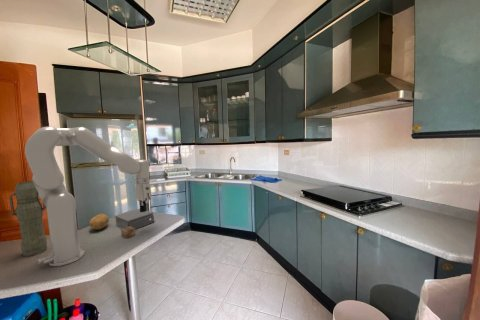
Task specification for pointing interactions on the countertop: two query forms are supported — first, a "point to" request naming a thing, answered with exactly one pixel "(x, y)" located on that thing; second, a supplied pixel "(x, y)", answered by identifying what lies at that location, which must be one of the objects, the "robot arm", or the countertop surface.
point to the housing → (130, 217)
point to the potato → (99, 221)
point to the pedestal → (128, 232)
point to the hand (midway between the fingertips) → (143, 211)
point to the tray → (142, 222)
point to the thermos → (29, 218)
